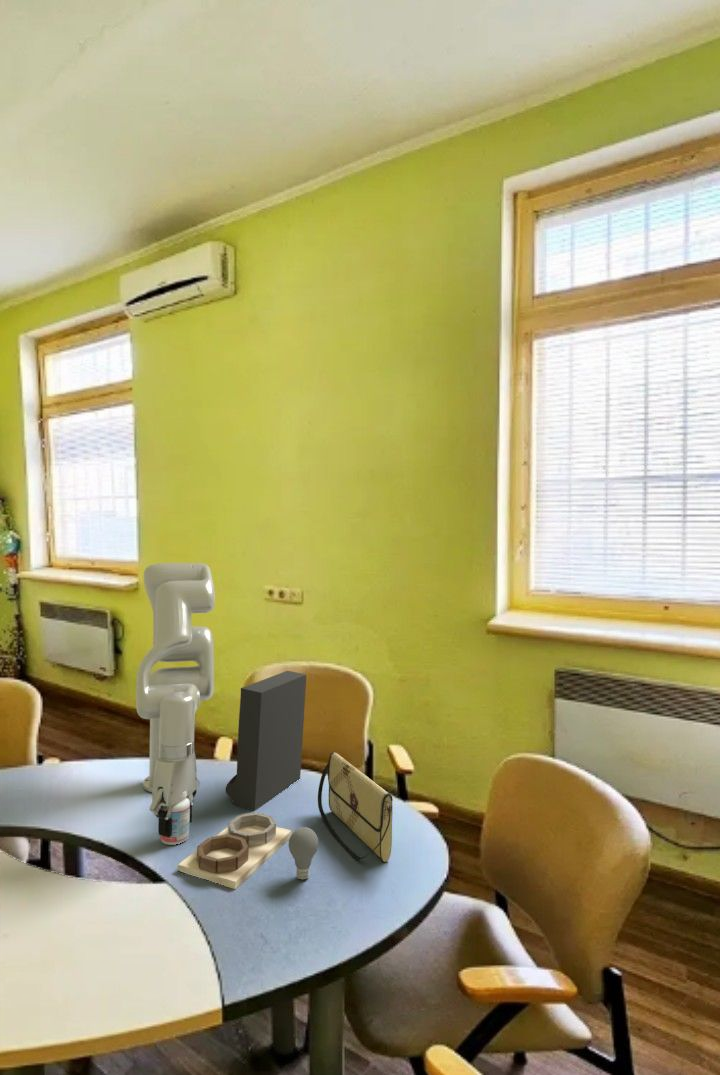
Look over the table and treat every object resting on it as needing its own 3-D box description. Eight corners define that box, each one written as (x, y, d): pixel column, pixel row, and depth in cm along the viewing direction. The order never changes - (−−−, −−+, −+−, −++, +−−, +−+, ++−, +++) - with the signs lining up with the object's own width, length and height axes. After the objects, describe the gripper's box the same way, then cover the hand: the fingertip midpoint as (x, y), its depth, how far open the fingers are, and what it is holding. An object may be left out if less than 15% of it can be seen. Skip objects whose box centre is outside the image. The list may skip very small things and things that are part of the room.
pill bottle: (155, 841, 135) (155, 791, 135) (175, 829, 141) (176, 781, 141) (175, 849, 133) (176, 797, 132) (195, 836, 138) (195, 787, 138)
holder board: (239, 823, 144) (239, 807, 144) (291, 836, 139) (291, 819, 139) (177, 871, 124) (178, 852, 124) (235, 889, 119) (235, 869, 118)
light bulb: (304, 866, 127) (305, 818, 127) (323, 878, 123) (324, 829, 123) (281, 877, 123) (282, 828, 123) (300, 890, 119) (301, 839, 118)
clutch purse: (309, 813, 151) (311, 753, 150) (335, 807, 154) (336, 748, 154) (368, 875, 124) (370, 802, 124) (397, 866, 128) (399, 796, 127)
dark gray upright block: (271, 772, 174) (273, 668, 174) (304, 780, 169) (306, 673, 169) (223, 802, 155) (225, 685, 155) (259, 812, 150) (261, 691, 150)
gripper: (188, 734, 146) (187, 808, 146) (135, 759, 130) (134, 842, 130) (214, 739, 143) (212, 815, 143) (163, 765, 127) (162, 850, 127)
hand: (175, 827), depth 137 cm, fingers closed on pill bottle, 6 cm apart
